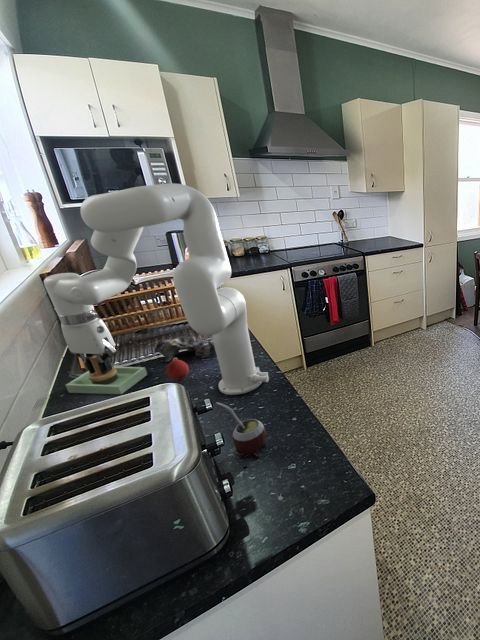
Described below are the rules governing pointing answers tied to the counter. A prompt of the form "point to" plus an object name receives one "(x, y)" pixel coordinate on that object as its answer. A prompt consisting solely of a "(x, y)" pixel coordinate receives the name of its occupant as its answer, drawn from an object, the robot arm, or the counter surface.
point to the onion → (177, 369)
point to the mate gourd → (247, 435)
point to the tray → (122, 384)
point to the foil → (183, 347)
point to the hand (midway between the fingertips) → (101, 370)
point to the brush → (98, 376)
